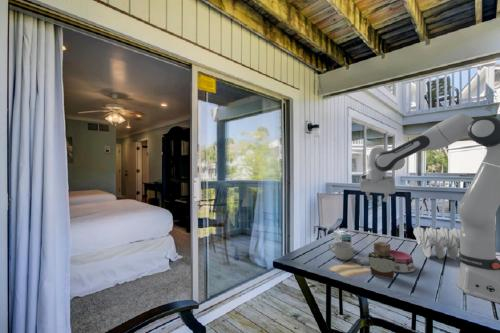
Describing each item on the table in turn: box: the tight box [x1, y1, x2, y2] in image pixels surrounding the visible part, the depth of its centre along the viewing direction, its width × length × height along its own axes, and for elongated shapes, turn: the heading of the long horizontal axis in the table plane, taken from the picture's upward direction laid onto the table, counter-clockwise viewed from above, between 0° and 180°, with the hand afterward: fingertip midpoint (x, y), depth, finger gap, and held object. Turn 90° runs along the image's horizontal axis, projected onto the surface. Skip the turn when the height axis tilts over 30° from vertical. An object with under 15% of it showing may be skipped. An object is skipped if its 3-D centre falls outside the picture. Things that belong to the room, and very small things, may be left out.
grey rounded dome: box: [355, 256, 370, 266], centre depth 135 cm, size 9×9×1 cm
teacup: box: [328, 242, 355, 261], centre depth 142 cm, size 14×11×8 cm
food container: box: [367, 251, 397, 280], centre depth 119 cm, size 12×6×10 cm, turn 57°
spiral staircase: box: [412, 225, 460, 260], centre depth 139 cm, size 18×18×25 cm
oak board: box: [326, 261, 371, 279], centre depth 126 cm, size 14×18×1 cm
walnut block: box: [373, 241, 391, 256], centre depth 119 cm, size 5×5×5 cm
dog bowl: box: [390, 249, 416, 275], centre depth 129 cm, size 18×19×7 cm
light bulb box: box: [333, 230, 353, 245], centre depth 158 cm, size 11×7×11 cm, turn 9°
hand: (377, 200), depth 139 cm, fingers open, 8 cm apart
